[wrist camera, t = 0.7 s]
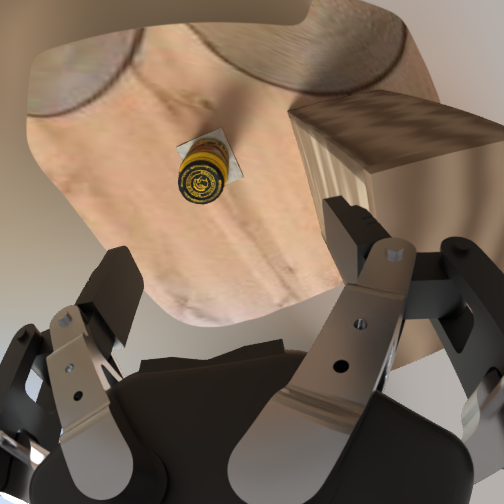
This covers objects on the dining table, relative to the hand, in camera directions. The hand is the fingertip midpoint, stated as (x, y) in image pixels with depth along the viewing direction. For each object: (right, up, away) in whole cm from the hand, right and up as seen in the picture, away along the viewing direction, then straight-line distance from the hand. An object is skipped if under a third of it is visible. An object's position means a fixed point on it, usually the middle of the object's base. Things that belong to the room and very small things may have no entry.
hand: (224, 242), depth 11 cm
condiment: (-5, +13, +31) cm, 34 cm away
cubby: (+18, +13, +32) cm, 39 cm away
